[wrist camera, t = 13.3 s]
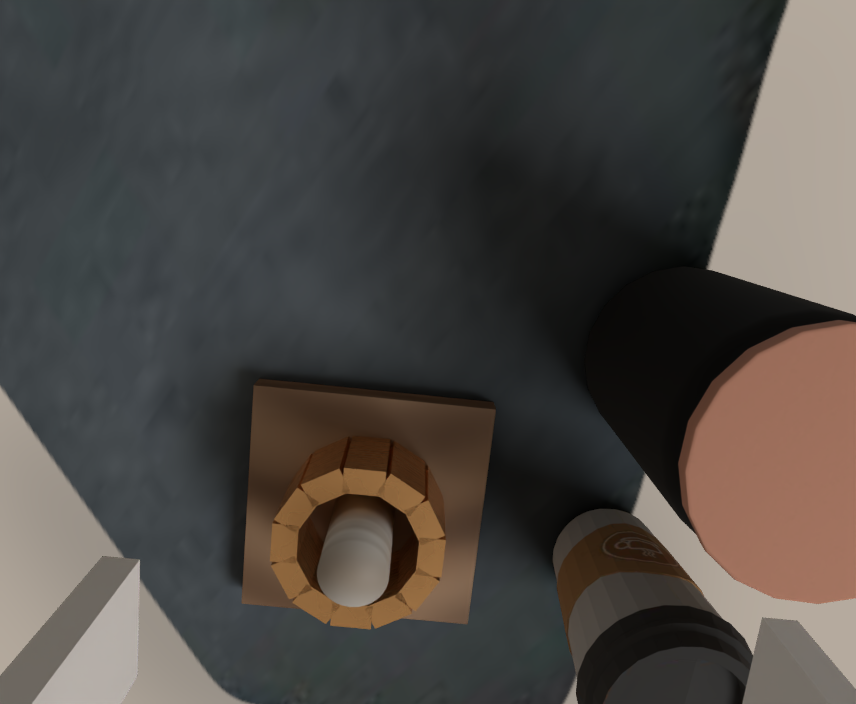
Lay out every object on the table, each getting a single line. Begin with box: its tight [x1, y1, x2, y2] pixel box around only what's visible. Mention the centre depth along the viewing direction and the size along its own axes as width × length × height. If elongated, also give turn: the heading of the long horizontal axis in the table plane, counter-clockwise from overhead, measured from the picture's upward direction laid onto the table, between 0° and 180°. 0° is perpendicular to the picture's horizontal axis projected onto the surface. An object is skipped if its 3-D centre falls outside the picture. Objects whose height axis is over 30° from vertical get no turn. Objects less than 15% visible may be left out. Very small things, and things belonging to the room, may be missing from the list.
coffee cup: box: [553, 509, 753, 704], centre depth 39 cm, size 8×8×15 cm
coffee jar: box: [584, 266, 856, 604], centre depth 35 cm, size 11×11×18 cm
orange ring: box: [270, 435, 446, 629], centre depth 42 cm, size 9×9×5 cm
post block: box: [242, 379, 496, 624], centre depth 41 cm, size 14×14×9 cm
